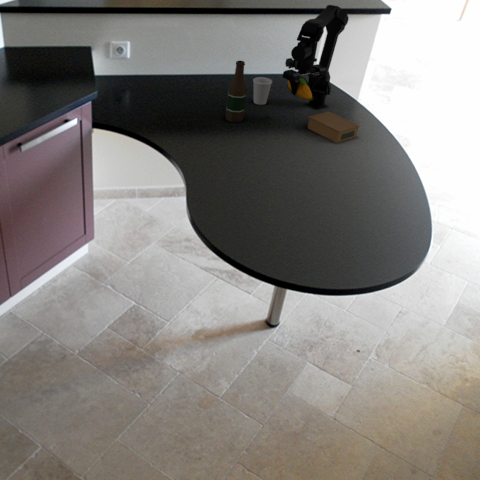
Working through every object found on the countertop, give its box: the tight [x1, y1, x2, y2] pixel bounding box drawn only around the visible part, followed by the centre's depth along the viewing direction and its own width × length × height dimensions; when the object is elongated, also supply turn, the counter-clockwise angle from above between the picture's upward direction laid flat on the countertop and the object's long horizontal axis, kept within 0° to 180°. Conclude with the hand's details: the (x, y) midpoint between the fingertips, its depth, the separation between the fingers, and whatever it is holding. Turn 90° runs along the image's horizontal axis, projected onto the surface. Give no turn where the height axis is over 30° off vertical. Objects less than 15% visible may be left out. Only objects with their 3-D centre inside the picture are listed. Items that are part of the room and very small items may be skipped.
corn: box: [287, 76, 313, 101], centre depth 240 cm, size 7×8×20 cm
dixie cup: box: [252, 76, 273, 106], centre depth 260 cm, size 8×8×10 cm
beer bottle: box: [225, 60, 247, 123], centre depth 239 cm, size 8×8×24 cm
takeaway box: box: [307, 110, 361, 144], centre depth 236 cm, size 17×12×5 cm
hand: (301, 93), depth 241 cm, fingers closed on corn, 8 cm apart
